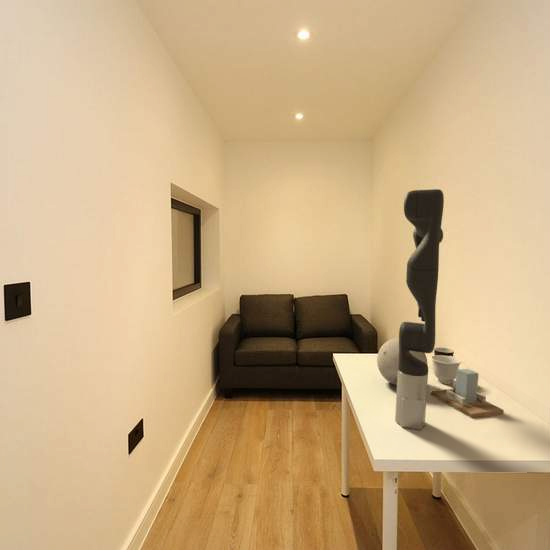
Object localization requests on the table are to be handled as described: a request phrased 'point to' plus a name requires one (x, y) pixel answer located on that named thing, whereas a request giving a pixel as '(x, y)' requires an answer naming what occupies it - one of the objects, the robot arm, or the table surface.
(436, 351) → the coffee mug
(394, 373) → the moon model
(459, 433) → the table surface
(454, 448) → the table surface
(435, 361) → the teacup
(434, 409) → the table surface
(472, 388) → the block
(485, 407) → the plate
